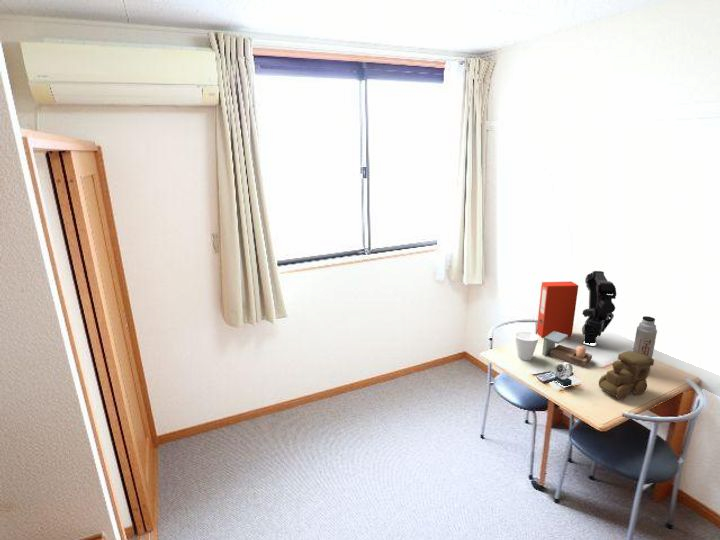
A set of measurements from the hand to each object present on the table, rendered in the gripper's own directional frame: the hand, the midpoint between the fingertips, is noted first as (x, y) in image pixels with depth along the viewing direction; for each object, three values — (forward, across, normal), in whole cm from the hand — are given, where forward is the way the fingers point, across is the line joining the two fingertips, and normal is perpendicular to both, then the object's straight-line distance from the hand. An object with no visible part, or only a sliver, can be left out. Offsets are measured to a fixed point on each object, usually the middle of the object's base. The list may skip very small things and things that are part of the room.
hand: (598, 334), depth 214 cm
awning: (+13, +11, -17) cm, 24 cm away
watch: (+13, +39, -1) cm, 41 cm away
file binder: (+13, -12, -27) cm, 32 cm away
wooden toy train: (+13, +26, +20) cm, 35 cm away
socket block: (+13, +11, -8) cm, 19 cm away
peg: (+13, +11, -4) cm, 17 cm away
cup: (+13, +26, -26) cm, 39 cm away
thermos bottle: (+13, 0, +20) cm, 24 cm away
